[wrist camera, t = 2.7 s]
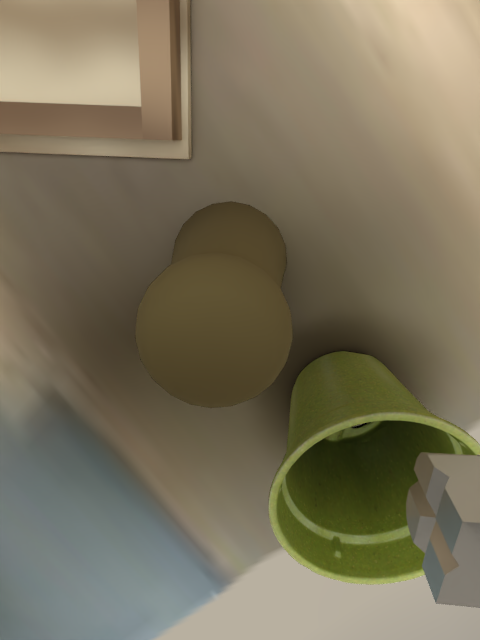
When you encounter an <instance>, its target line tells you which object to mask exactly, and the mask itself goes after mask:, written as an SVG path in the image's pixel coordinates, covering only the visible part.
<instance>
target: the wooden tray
mask: <svg viewBox="0 0 480 640" xmlns="http://www.w3.org/2000/svg"><path fill="white" fill-rule="evenodd" d="M0 152H19V153H45V154H70V155H96V156H121V157H147V158H172V159H191V20H190V0H0Z"/></svg>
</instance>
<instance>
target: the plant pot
mask: <svg viewBox="0 0 480 640" xmlns="http://www.w3.org/2000/svg"><path fill="white" fill-rule="evenodd" d="M368 422H369V423H368ZM363 423H367V424H366V425H364V426H362V427H359V428H352V426H355V425H358V424H363ZM421 452H426V453H444V454H463V455H480V445H479V443H478V442H477V441H476V440H475V439H474V438H473V437H471V436H470V435H469V434H468V433H467V432H465V431H464V430H462V429H461V428H459V427H457V426H456V425H454V424H452V423H450V422H448V421H446V420H444V419H441V418H439V417H437V416H435V415H434V414H432V413H430V412H429V411H428V410H427V409H426V408H425V407H424V406H423V405H422V404H421V403H420V402H419V401H418V400H417V399H416V398H415V397H414V396H413V395H412V394H411V393H410V392H409V391H408V390H407V389H406V388H405V387H404V386H403V385H402V384H401V382H400V381H399V380H398V379H397V378H396V377H395V376H394V375H393V374H392V373H391V372H390V371H389V370H388V369H387V367H386V366H385V365H383V364H382V363H381V362H380V361H379V360H377V359H376V358H374V357H372V356H370V355H365V354H358V353H352V352H346V351H338V352H333V353H330V354H326V355H324V356H322V357H320V358H318V359H316V360H314V361H313V362H311V363H310V364H309V365H307V366H306V367H305V368H304V369H303V370H302V372H301V373H300V374H299V376H298V377H297V380H296V382H295V385H294V387H293V391H292V395H291V406H290V418H289V430H288V441H287V452H286V454H285V457H284V459H283V462H282V464H281V465H280V467H279V469H278V471H277V472H276V474H275V477H274V479H273V482H272V485H271V489H270V494H269V503H268V508H269V518H270V523H271V526H272V529H273V532H274V534H275V536H276V538H277V540H278V541H279V543H280V544H281V546H282V547H283V548H284V549H285V550H286V551H287V552H288V553H289V555H290V556H291V557H292V558H293V559H295V560H296V561H297V562H299V563H300V564H302V565H303V566H305V567H307V568H308V569H310V570H311V571H313V572H315V573H317V574H319V575H322V576H325V577H328V578H331V579H335V580H340V581H342V582H347V583H356V584H368V585H369V584H370V585H373V584H387V583H394V582H401V581H406V580H410V579H414V578H417V577H420V576H422V575H425V573H424V570H423V567H422V564H423V560H424V556H425V553H424V552H423V551H422V550H421V549H420V548H419V547H418V546H416V545H415V544H414V543H413V540H412V537H411V534H410V532H409V528H408V523H407V518H406V501H407V496H408V491H409V488H410V487H411V486H412V485H414V484H415V483H416V482H417V481H419V480H418V478H417V476H416V473H415V471H414V467H415V463H416V459H417V457H418V456H419V454H420V453H421Z"/></svg>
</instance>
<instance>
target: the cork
mask: <svg viewBox="0 0 480 640" xmlns="http://www.w3.org/2000/svg"><path fill="white" fill-rule="evenodd" d="M286 264H287V259H286V247H285V243H284V241H283V238H282V236H281V234H280V231H279V229H278V228H277V226H276V225H275V224H274V223H273V222H272V221H271V220H270V219H269V218H268V216H267V215H266V214H264V213H262V212H260V211H259V210H257V209H255V208H253V207H252V206H250V205H246V204H241V203H236V202H224V203H216V204H211V205H209V206H207V207H205V208H203V209H201V210H199V211H197V212H195V213H194V214H193V215H192V216H191V217H190V218H189V219H188V220H187V221H186V222H185V223H184V224H183V226H182V228H181V230H180V232H179V234H178V236H177V238H176V240H175V245H174V251H173V256H172V262H171V265H170V266H168V267H167V268H166V269H165V270H164V271H163V272H162V273H161V274H160V275H159V276H158V277H157V278H156V279H155V280H154V281H153V282H152V283H151V284H150V286H149V287H148V289H147V291H146V293H145V295H144V297H143V299H142V301H141V303H140V305H139V307H138V311H137V321H136V330H135V339H136V344H137V348H138V352H139V356H140V360H141V361H142V363H143V365H144V366H145V368H146V369H147V371H148V373H149V374H150V376H151V377H152V379H153V380H154V381H155V382H157V383H158V384H159V385H160V386H161V387H162V388H163V389H165V390H166V391H167V392H168V393H169V394H170V395H172V396H174V397H176V398H178V399H180V400H182V401H184V402H186V403H188V404H191V405H197V406H203V407H208V408H216V407H227V406H233V405H236V404H238V403H241V402H244V401H246V400H249V399H251V398H254V397H256V396H257V395H259V394H260V393H261V392H262V391H264V390H265V389H266V388H268V387H269V386H270V385H271V384H273V382H274V381H275V379H276V378H277V376H278V375H279V373H280V372H281V370H282V369H283V367H284V366H285V364H286V361H287V359H288V355H289V351H290V347H291V343H292V339H293V331H292V320H291V313H290V308H289V306H288V304H287V302H286V300H285V297H284V295H283V293H282V291H281V284H282V280H283V276H284V272H285V268H286Z"/></svg>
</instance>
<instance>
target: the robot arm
mask: <svg viewBox="0 0 480 640" xmlns="http://www.w3.org/2000/svg"><path fill="white" fill-rule="evenodd" d="M414 471H415V473H416V476H417V478H418V480H419V481H417V482H416V483H415V484H414V485H412V486H411V487H410V488H409V491H408V496H407V501H406V518H407V523H408V528H409V532H410V534H411V537H412V540H413V543H414V544H415V545H416V546H418V547H419V548H420V549H421V550H422V551H423V552H424V553H425V556H424V560H423V564H422V567H423V570H424V573H425V575H426V578H427V581H428V583H429V586H430V589H431V591H432V594H433V597H434V599H435V602H436V604H447V605H457V606H467V607H478V608H480V455H463V454H444V453H426V452H421V453H420V454H419V456H418V457H417V459H416V463H415V467H414Z"/></svg>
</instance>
